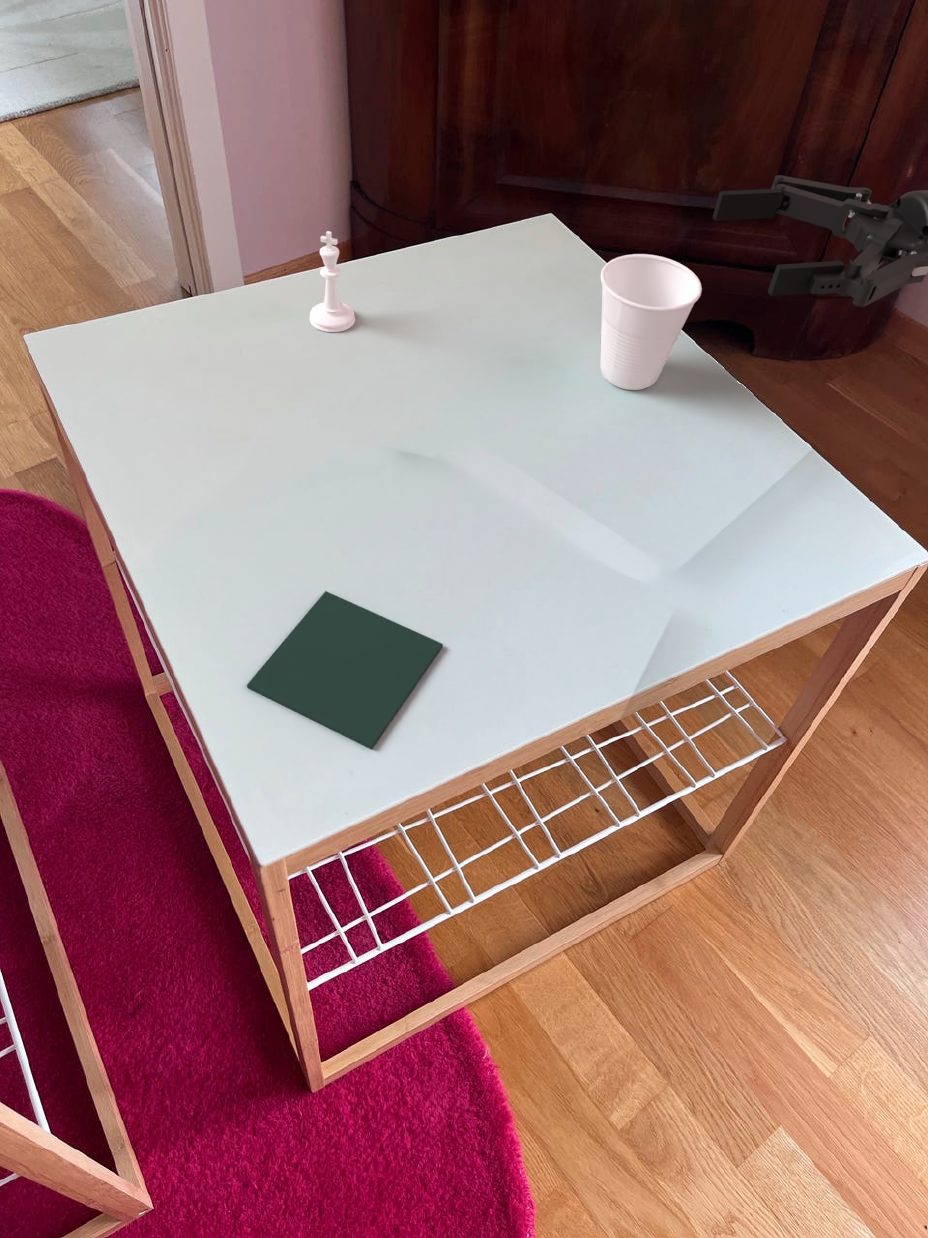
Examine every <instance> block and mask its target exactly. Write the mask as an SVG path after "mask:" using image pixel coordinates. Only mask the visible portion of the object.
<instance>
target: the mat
mask: <svg viewBox="0 0 928 1238" xmlns="http://www.w3.org/2000/svg"><path fill="white" fill-rule="evenodd" d="M443 647H444V645H443V643H442V642H439V641H437V640H435V639H433V638H431V637H429V636H427V635H424V634H422V633H420V632H417V631H415V630H413V629H411V628H408V627H406V626H404V625H402V624H400V623H398V622H395V621H393V620H391V619H389V618H387V617H384V616H382V615H380V614H377V613H375V612H373V611H372V610H368V609H367V608H365V607H362V606H360V605H358V604H355V603H353V602H351V601H350V600H347V599H345V598H342V597H340V596H338V595H336V594H334V593H331V592H329V591H327V590H325V591H324V592H323V593H322V594H321V596H320V597H319V598H318V599H317V600H316V602H315V603H314V604H313V605H312V606H311V608H309V610H307V612H306V614H305V615H304V616H303V617H302V619H301V620H300V621H299V622H298V623H297V624H296V626H294V628H293V629H292V631H290V633H289V634H288V635H287V636H286V637H285V639H284V640H283V641H282V642H281V643H280V645H279V646H278V647H277V648H276V649H275V650H274V652H272V654H271V655H270V656H269V658H268V659H267V660H266V661H265V662H264V664H263V665H262V666H261V667H260V668H259V670H258V671H257V672H256V673H255V674H254V676H253V677H252V678H251V679H250V680H249V681H248V683H247V684H246V688H247V689H249V690H251V691H253V692H255V693H256V694H258V695H261V696H263V697H265V698H266V699H269V700H271V701H273V702H275V703H277V704H279V705H281V706H283V707H285V708H287V709H289V710H291V711H293V712H295V713H297V714H299V715H301V716H303V717H305V718H307V719H308V720H311V721H314V722H315V723H317V724H320V725H322V726H324V727H325V728H327V729H329V730H332V731H334V732H335V733H338V734H340V735H341V736H344V737H345V738H347V739H350V740H351V741H354V742H355V743H358V744H360V745H362V746H364V747H366V748H368V749H370V750H373V749H374V747H375V746H376V744H377V743H378V742H379V740H380V739H381V737H382V736H383V734H384V733H385V731H386V730H387V728H388V727H389V725H390V724H391V723H392V721H393V720H394V718H395V717H396V715H397V714H398V712H399V711H400V709H401V708H402V707H403V705H404V704H405V702H406V701H407V699H408V698H409V697H410V695H411V694H412V693H413V691H414V690H415V688H416V687H417V685H418V683H419V682H420V681H421V679H422V678H423V676H424V675H425V674H426V671H427V670H428V669H429V668H430V666H431V665H432V663H433V662H434V660H435V659H436V657H437V656H438V655H439V653H440V651H441V650H442V649H443Z"/></svg>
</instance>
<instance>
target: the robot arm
mask: <svg viewBox="0 0 928 1238" xmlns="http://www.w3.org/2000/svg"><path fill="white" fill-rule="evenodd" d="M871 195H872V190H871V189H870V188H868V187H854V186H853V187H848V186H843V185H837V184H832V183H826V182H822V181H821V182H820V181H815V180H810V179H803V178H797V177H792V176H787V175H780V174H778V175H775V177H774V180H773V182H772V185H771V188H763V189H762V188H761V189H741V190H739V189H738V190H721V191H719V193H718V197H717V201H716V202H715V203H716V204H715V207H714V211H713V215H712V219H713V220H714V221H715V222H721V221H723V222H725V221H742V220H762V219H764V220H765V219H770V220H772V219H774V218H775V216H776V214H778V215H781V216H785V217H789V218H792V219H795V220H798V221H802V222H805V223H808V224H810V225H811V224H812V225H815V226H818V227H822V228H825V229H828V230H830V231H831V233H832V235H833V236H835V237H837V238H841V239H843V240H847V241H848V242H849V243H851V244H852V245H853V246H854V249H855V250H856V251H857V253H859V255H858V256H857V257H856V258H855V259H854V260H852V259H850V260H849V263H848V265H847V267H846V270H845V271H844V269H845V266H846V265H845V263H844V262H843V261H842V260H833V261H816V262H802V263H801V262H800V263H799V262H798V263H786V264H785V263H784V264H783V263H782V264H776V266H775V269H774V273H773V276H772V278H771V280H770V284H769V287H768V290H767V293H768V294H769V296H770V297H776V296H777V297H779V296H790V295H805V294H806V295H807V294H813V295H822V294H823V295H826V294H837V295H839V296H841V297H845V298H848V297H850V298H852V299H853V300H852V305H854V306H855V307H858V308H864V307H866V306H868V305H871V304H873V303H874V302H876V301H878V300H880V299H881V298H884V297H885V296H887V295H889V294H891V293H893V292H895V291H897V290H899V289H900V288H902V287H905V286H907V285H910V284H918V283H922V282H924V280H925V278H926V276H927V274H928V189H926V190H924V189H923V190H912V191H909V192H908V191H907V192H906V193H904V194H903V195H901V196H899V198H897V199H896V200H895V201H893V202H892V203H891V204H889V205H883V204H881V203H872V202H871V200H870V198H871ZM847 218H849V222H848V224H847V226H846V227H845V223H846V220H847ZM886 262H888V264H887V265H885V266H883V267H881V266H882V265H884V264H885V263H886ZM880 267H881V268H880Z"/></svg>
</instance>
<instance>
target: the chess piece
mask: <svg viewBox="0 0 928 1238" xmlns="http://www.w3.org/2000/svg"><path fill="white" fill-rule="evenodd" d="M332 235H333V233H332V231H329V230H327V231H326V232H325V235H321V236H320V238H319V239H320V240H319V241H320V243H325V245H324V246H322V247H321V248H319V255H320V257H321V259H322V262H323V265H324V266H323V267H321V268H320V271H319V274H320V276H321V277H323V278H325V289H324V298H323V302H320V303H318V304H316V305H314V306H313V307H312V308H311V310H310V311H309V322H310V324H311V325H312V327H314V328H315V329H317V330H319V331H322V332H325V333H341V332H343V331H346V330H349V329H350V328H352V327H353V326H354V325H355V323H356V316H355V312H354V310H353V308H352V307H351V306H350V305H348V304H346V303H344V302H341V301H340V299H339V292H338V286H337V281H336V279H337V278H339V277H340V276H341V274H342V272H341V269H340V268H339V267H337V263H338V259H339V256H340V249H339V248H338V247H337V245H338V243H339V241H338V240H339V239H338V238H334V237H333V236H332Z"/></svg>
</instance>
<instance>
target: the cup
mask: <svg viewBox="0 0 928 1238" xmlns="http://www.w3.org/2000/svg"><path fill="white" fill-rule="evenodd" d="M600 282H601V284H602V285H601V286H602V288H601V334H600V336H601V338H600V372H601V375H602V376H603V378H605V380H606V381H607V382H608V383H610V384H612V385H613V386H615V387H617V388H619V389H623V390H626V391H627V390H628V391H640V390H645V389H647V388H650V387H651V386H653V385H654V384H656V382H657V381H658V379H659V377H660V375H661V373H662V371H663V368H664V366H665V364H666V362H667V361H668V359H669V355H670V354H671V352H672V350H673V348H674V346H675V343H676V342H677V340H678V337H679V336H680V334H681V331H682V329H683V327H684V325H685V323H686V322H687V319H688V317H689V315H690V313H691V311H692V309H693V307H694V305H695V303H696V302H698V300H699V299H700V298H701V296H702V291H703V288H702V283H701V281H700V279H699V277H698V276H697V275H696V274H695V273H694V271H692V270H691V269H690V268H688V267H687V266H685V265H683V264H681V262H678V261H676V260H673V259H671V258H667V257H665V256H661V255H660V256H659V255H655V254H648V253H633V254H625V255H621V256H617V257H615V258H612V259H611V260H609V261H608V262H607V263H606V264H605V265H604V266H603V267H602V269H601V272H600Z"/></svg>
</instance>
